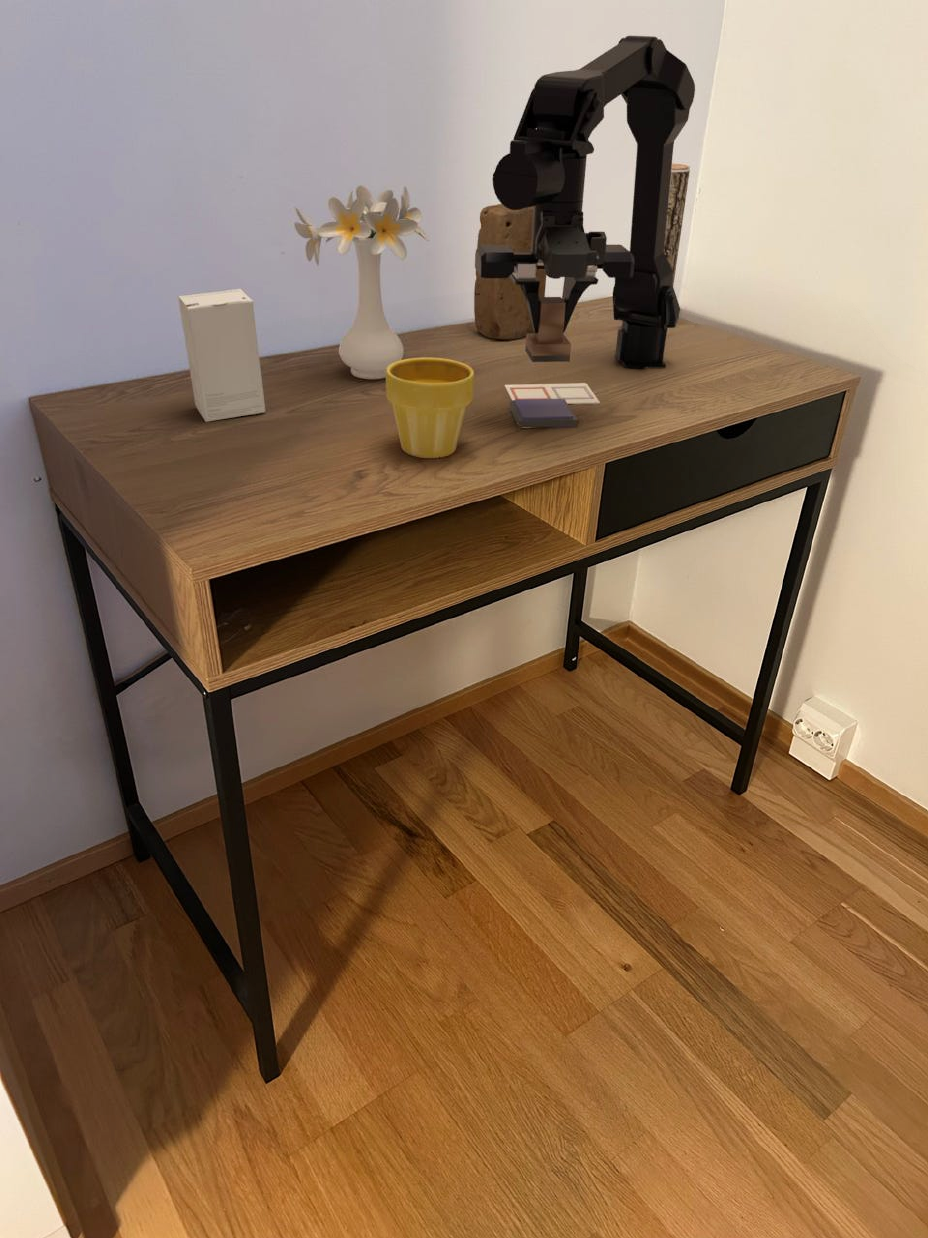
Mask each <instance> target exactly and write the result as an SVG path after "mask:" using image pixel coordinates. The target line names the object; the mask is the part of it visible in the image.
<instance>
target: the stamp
mask: <svg viewBox="0 0 928 1238" xmlns="http://www.w3.org/2000/svg"><path fill="white" fill-rule="evenodd" d="M565 305H566V303H565V302H564V301H563V299H562V296H545V297H539V329H538V333H535V332H534V333H530V334H526V336H525V348H524V349H525V350H524V351H525V352H526V354H527V356H528V357H529V359H530V361H531V362H532V363H559V362H561V363H562V362H563V363H564V362H568V363H569V362H571V361H570V360H571V351H572V350H571V348H572V344H571V342H570V341H569V340H568V338H567V336H566V335H565V334H564V333H563V330H564V318H565Z"/></svg>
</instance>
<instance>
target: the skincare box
mask: <svg viewBox="0 0 928 1238" xmlns="http://www.w3.org/2000/svg"><path fill="white" fill-rule="evenodd" d="M177 300H178V304H179V310H180V311H179V312H180V318H181V325H182V331H183V335H184V336H183V337H184V342H185V348H186V354H187V355H186V356H187V360H188V365H189V373H190V378H191V384H192V385H191V386H192V390H193V391H192V392H193V397H194V403H195V408H196V409H197V410H198V411H197V412H199V414H200V415H201V416H202V419H204V421H205V422H206V423H208V422H212V421H218V420H219V421H220V420H225V419H231V418H237V417H241V416H249V415H256V414H264V413H266V405H265V397H264V395H265V394H264V389H263V387H264V386H263V378H262V372H261V361H260V360H261V359H260V354H259V353H260V352H259V344H258V335H257V327H256V319H255V318H256V317H255V310H254V309H255V307H254V300H253V299H252V298H250V297H249V296H248V295H247V294H246V293H245V292H244V291H243V289H241V288H236V289H227V290H221V291H213V292H205V293H197V294H188V295H179V296H178V299H177Z"/></svg>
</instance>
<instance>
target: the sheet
mask: <svg viewBox="0 0 928 1238" xmlns="http://www.w3.org/2000/svg"><path fill="white" fill-rule="evenodd" d="M504 388H505V390H506V393H507V394H508V396H509V398H510V400H516V399H565V401H566V402H567V404H573V405H600V404H601V402H600V400H599V399H598V398H597V396H596V395H595V393H594V392H593V391H592V390H591V388H590V387H589V384H587V383H582V382H581V383H579V382H578V383H534V384H533V383H532V384H531V383H530V384H529V383H528V384H527V383H526V384H525V383H524V384H522V383H521V384H504Z"/></svg>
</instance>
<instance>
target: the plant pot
mask: <svg viewBox="0 0 928 1238" xmlns="http://www.w3.org/2000/svg"><path fill="white" fill-rule="evenodd" d="M474 389H475V371H474V369H473V368H472V367H471V366H470V365H467V364H466V363H464V362H461V361H458V360H454V359H448V358H442V357H412V358H404V359H401V360H400V361H397V362H394V363H392V364H390V365H389V366H388V367H387V369H386V378H385V395H386V398H387V400H388V401H389V403H391V405H392V408H393V409H392V410H393V413H394V418H395V422H396V427H397V431H398V437H399V441H400V445H401V448H402V451H404V452H405V453H406V454H408V455H410V456H413V457H416V458H421V459H440V458H445V457H448V456H450V455H452V454H453V453H455V451H456V450H457V446H458V442H459V437H460V433H461V429H462V425H463V422H464V418H465V413H466V409H467V406H468V405H469V404H470V403H472V401H473V399H474ZM439 457H440V458H439Z"/></svg>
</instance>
